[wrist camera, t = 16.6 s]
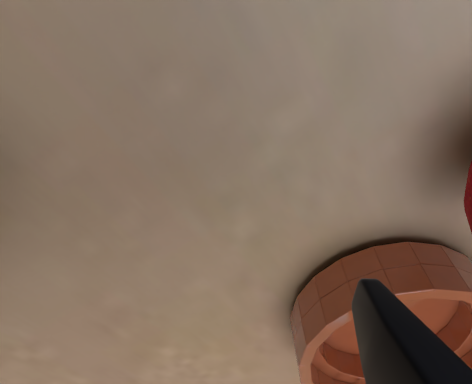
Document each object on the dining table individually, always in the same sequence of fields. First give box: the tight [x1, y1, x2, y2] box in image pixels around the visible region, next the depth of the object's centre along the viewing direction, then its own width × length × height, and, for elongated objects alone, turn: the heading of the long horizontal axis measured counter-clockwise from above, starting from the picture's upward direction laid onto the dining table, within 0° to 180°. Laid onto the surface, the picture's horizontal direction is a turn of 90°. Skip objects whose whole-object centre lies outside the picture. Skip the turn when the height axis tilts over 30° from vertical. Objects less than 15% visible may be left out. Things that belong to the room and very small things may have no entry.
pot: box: [290, 242, 472, 384], centre depth 28 cm, size 14×14×5 cm
